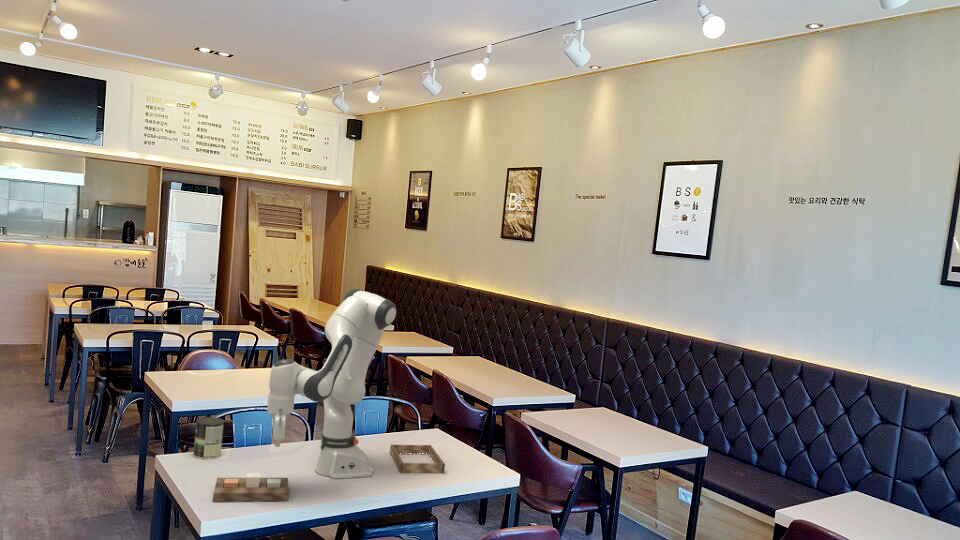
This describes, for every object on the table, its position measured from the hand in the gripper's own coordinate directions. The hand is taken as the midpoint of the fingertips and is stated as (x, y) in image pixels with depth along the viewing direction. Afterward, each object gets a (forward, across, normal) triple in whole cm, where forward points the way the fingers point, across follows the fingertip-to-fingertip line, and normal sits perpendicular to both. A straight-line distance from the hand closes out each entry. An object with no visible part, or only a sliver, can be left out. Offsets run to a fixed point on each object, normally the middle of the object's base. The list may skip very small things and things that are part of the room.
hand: (277, 445), depth 238 cm
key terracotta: (+16, 0, +14) cm, 21 cm away
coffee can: (+17, +42, +25) cm, 52 cm away
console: (+17, 0, +7) cm, 18 cm away
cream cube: (+14, 0, +7) cm, 16 cm away
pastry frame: (+18, +34, -58) cm, 69 cm away
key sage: (+16, 0, 0) cm, 16 cm away
